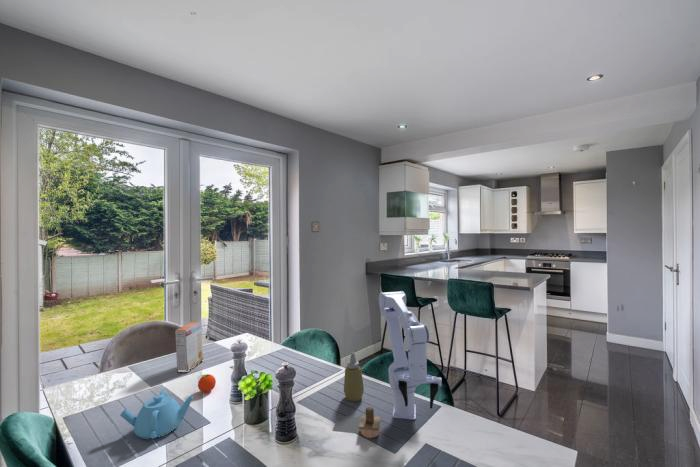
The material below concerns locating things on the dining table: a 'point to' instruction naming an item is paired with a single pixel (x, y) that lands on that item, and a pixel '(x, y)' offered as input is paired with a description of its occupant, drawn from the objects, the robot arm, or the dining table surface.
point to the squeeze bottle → (353, 380)
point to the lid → (369, 420)
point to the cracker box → (189, 345)
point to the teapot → (157, 416)
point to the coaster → (347, 424)
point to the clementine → (206, 383)
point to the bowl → (370, 433)
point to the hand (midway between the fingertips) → (418, 405)
